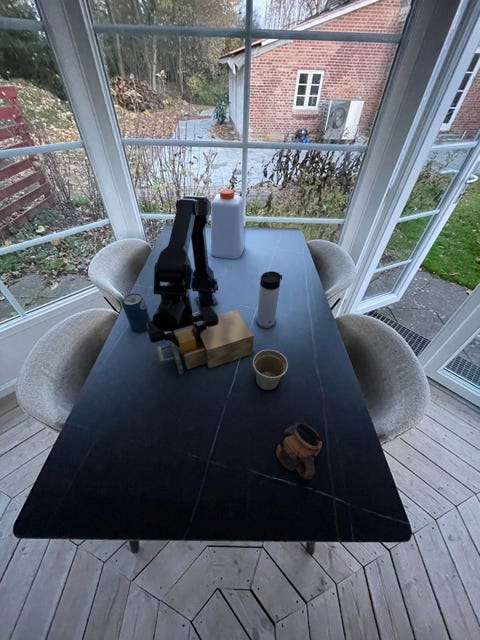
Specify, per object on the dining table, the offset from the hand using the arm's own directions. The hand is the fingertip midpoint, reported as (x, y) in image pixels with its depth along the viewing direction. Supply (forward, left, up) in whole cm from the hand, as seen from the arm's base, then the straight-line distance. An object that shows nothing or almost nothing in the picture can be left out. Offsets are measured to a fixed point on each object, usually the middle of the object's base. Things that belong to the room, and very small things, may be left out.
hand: (186, 343), depth 78 cm
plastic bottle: (-57, +35, -7) cm, 67 cm away
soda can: (-20, -12, -7) cm, 24 cm away
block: (0, 0, -1) cm, 1 cm away
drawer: (0, 0, -6) cm, 6 cm away
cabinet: (0, +11, -7) cm, 13 cm away
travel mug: (-5, +29, -7) cm, 31 cm away
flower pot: (+17, +18, -7) cm, 26 cm away
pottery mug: (+38, +15, -7) cm, 42 cm away
